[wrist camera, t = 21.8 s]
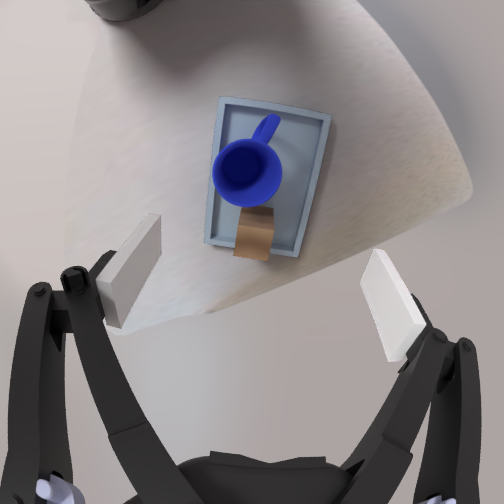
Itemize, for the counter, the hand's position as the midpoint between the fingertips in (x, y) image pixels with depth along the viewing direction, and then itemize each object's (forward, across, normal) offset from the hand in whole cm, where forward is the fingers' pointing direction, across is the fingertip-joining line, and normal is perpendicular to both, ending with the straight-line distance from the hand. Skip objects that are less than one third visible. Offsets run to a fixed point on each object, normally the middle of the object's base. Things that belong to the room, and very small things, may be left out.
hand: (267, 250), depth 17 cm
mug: (+28, -3, 0) cm, 28 cm away
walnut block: (+28, 0, -11) cm, 30 cm away
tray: (+29, 0, -4) cm, 29 cm away
